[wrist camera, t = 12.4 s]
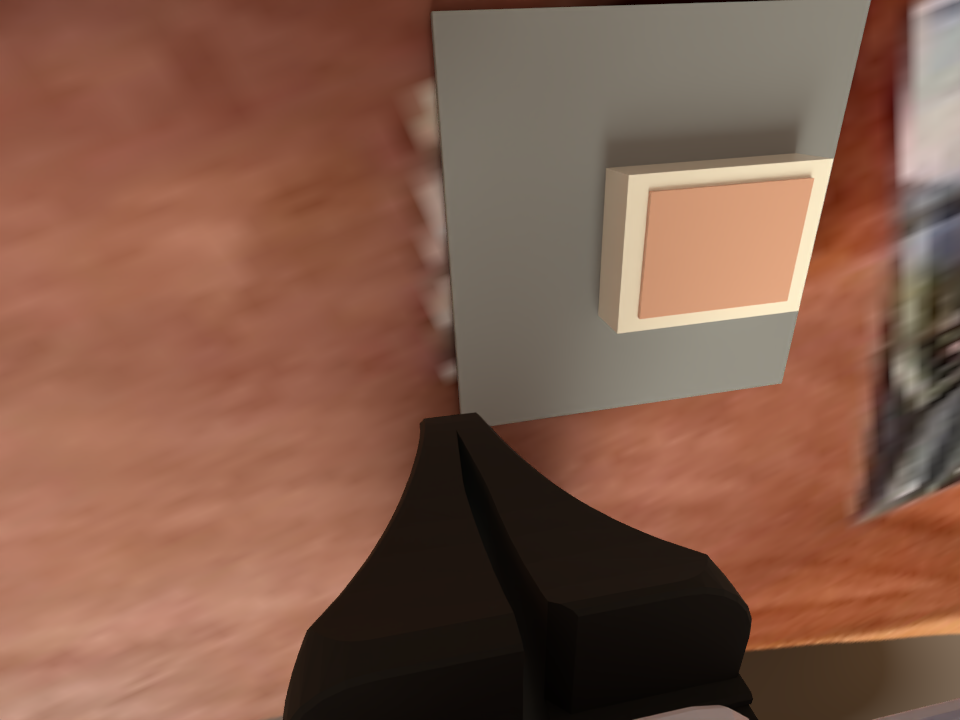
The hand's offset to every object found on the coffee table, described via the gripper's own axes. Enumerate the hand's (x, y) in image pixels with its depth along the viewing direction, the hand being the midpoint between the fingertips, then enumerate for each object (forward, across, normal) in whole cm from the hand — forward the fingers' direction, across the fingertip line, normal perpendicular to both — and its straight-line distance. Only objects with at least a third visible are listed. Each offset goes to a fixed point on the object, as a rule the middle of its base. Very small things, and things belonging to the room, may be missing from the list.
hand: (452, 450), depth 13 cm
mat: (+10, -10, -2) cm, 14 cm away
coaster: (+9, -8, -2) cm, 12 cm away
